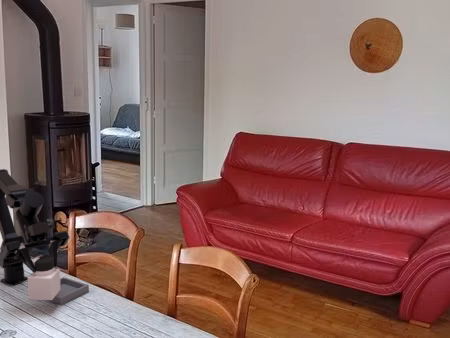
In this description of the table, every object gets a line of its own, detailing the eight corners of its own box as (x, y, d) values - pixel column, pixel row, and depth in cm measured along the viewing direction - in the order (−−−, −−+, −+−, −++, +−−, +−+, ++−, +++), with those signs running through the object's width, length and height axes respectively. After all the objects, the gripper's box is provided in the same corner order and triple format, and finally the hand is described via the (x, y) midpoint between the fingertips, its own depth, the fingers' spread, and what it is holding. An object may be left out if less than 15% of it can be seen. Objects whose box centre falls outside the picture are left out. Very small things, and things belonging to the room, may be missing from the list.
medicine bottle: (60, 289, 154) (59, 253, 152) (52, 300, 147) (50, 262, 145) (38, 288, 154) (36, 252, 152) (28, 299, 147) (26, 261, 145)
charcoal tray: (35, 296, 159) (35, 289, 159) (64, 283, 169) (63, 276, 169) (60, 305, 154) (60, 298, 153) (88, 292, 163) (88, 284, 163)
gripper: (3, 216, 142) (19, 265, 136) (65, 205, 154) (83, 249, 149) (-5, 235, 150) (11, 282, 144) (56, 223, 162) (72, 266, 156)
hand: (45, 269), depth 148 cm, fingers closed on medicine bottle, 6 cm apart
